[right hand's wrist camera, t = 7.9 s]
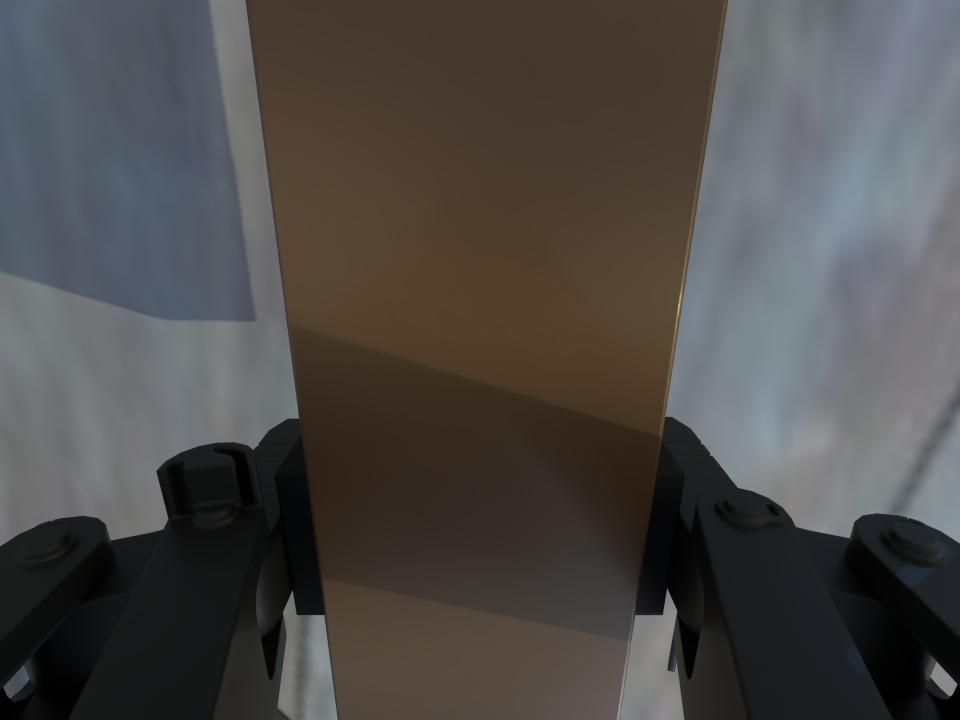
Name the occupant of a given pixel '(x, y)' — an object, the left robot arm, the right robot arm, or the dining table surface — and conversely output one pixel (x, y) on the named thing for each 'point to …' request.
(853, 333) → the dining table surface
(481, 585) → the post
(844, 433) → the dining table surface
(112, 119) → the dining table surface
